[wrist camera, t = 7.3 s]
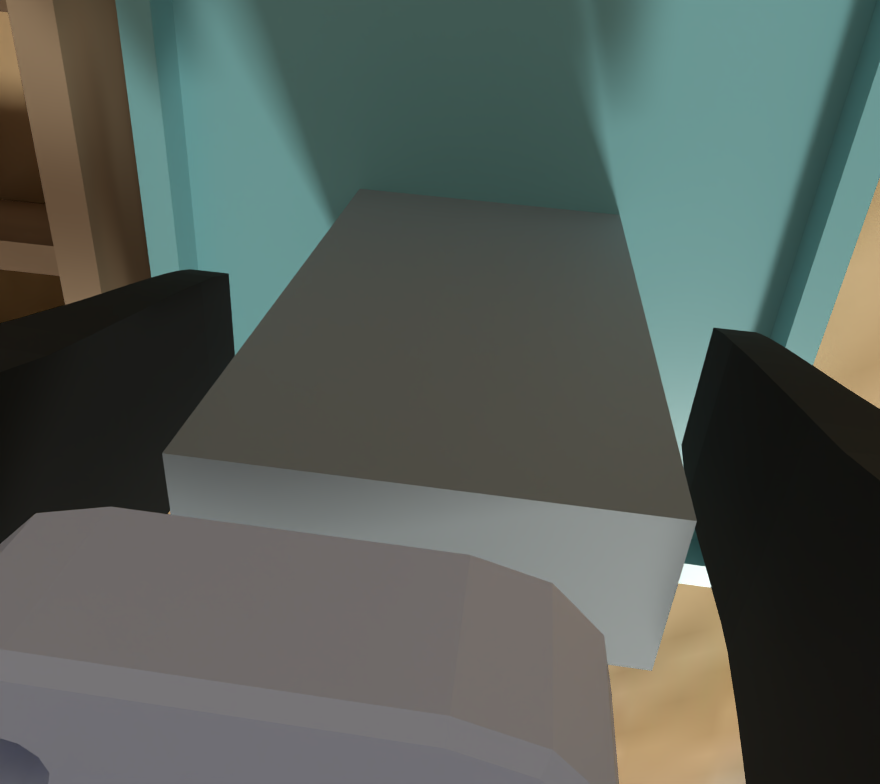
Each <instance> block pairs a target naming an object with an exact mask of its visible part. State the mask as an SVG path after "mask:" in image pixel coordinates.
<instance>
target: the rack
mask: <svg viewBox="0 0 880 784" xmlns="http://www.w3.org/2000/svg"><path fill="white" fill-rule="evenodd" d="M0 11H2V12H8V14H9V19H10V24H11V29H12V35H13V40H14V45H15V50H16V55H17V60H18V65H19V71H20V76H21V81H22V86H23V91H24V96H25V101H26V106H27V112H28V117H29V122H30V127H31V132H32V137H33V142H34V148H35V153H36V158H37V163H38V168H39V173H40V178H41V184H42V189H43V194H44V199H45V204H39V203H30V202H20V201H11V200H2V199H0V269H1V270H10V271H19V272H28V273H37V274H46V275H54V276H60V281H61V286H62V291H63V297H64V302H65V305H66V304H70V303H73V302H77V301H80V300H83V299H86V298H89V297H92V296H95V295H98V294H101V293H104V292H107V291H111V290H114V289H117V288H120V287H123V286H126V285H129V284H132V283H135V282H138V281H141V280H145V279H148V278H151V271H150V263H149V255H148V248H147V240H146V232H145V225H144V217H143V209H142V202H141V194H140V186H139V179H138V171H137V163H136V156H135V148H134V140H133V133H132V125H131V117H130V110H129V102H128V94H127V87H126V79H125V71H124V64H123V56H122V48H121V41H120V33H119V25H118V18H117V10H116V2H115V0H0Z"/></svg>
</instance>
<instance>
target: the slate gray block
mask: <svg viewBox="0 0 880 784" xmlns="http://www.w3.org/2000/svg"><path fill="white" fill-rule="evenodd" d="M162 456H163V463H164V470H165V477H166V484H167V491H168V498H169V505H170V512H171V515H177V516H184V517H192V518H199V519H207V520H214V521H222V522H229V523H237V524H244V525H252V526H259V527H266V528H274V529H281V530H289V531H296V532H304V533H311V534H319V535H326V536H334V537H341V538H348V539H356V540H363V541H371V542H378V543H386V544H393V545H401V546H408V547H416V548H423V549H431V550H438V551H445V552H453V553H460V554H468V555H472V556H475V557H478V558H481V559H484V560H487V561H490V562H492V563H495V564H498V565H501V566H504V567H507V568H510V569H513V570H516V571H519V572H522V573H524V574H527V575H530V576H533V577H536V578H539V579H542V580H545V581H548V582H551V583H553V584H554V585H555V586H556V587H557V588H558V589H559V590H560V591H561V592H562V593H563V594H564V595H565V596H566V597H567V598H568V599H569V600H570V601H571V602H572V603H573V604H574V605H575V606H576V607H577V608H578V609H579V610H580V611H581V612H582V613H583V614H584V615H585V617H586V618H587V619H588V620H589V621H590V622H591V623H592V624H593V625H594V626H595V627H596V628H597V629H598V630H599V631H600V632H601V633H602V634H603V635H604V639H605V647H606V654H607V662H608V665H615V666H622V667H629V668H636V669H643V670H651V671H652V668H653V665H654V662H655V658H656V655H657V652H658V649H659V645H660V642H661V639H662V635H663V632H664V629H665V625H666V622H667V619H668V615H669V612H670V609H671V605H672V602H673V599H674V596H675V592H676V589H677V586H678V582H679V579H680V576H681V572H682V569H683V566H684V562H685V559H686V556H687V553H688V549H689V546H690V543H691V539H692V536H693V533H694V529H695V526H696V523H697V519H696V515H695V511H694V507H693V503H692V499H691V495H690V492H689V488H688V484H687V480H686V476H685V472H684V468H683V464H682V460H681V456H680V452H679V448H678V444H677V440H676V436H675V432H674V428H673V424H672V420H671V416H670V412H669V408H668V404H667V400H666V396H665V392H664V388H663V384H662V380H661V376H660V373H659V369H658V365H657V361H656V357H655V353H654V349H653V345H652V341H651V337H650V333H649V329H648V325H647V321H646V317H645V313H644V309H643V305H642V301H641V297H640V293H639V289H638V285H637V281H636V277H635V273H634V269H633V265H632V261H631V257H630V253H629V250H628V246H627V242H626V238H625V234H624V230H623V226H622V222H621V218H620V215H616V214H606V213H596V212H586V211H576V210H566V209H556V208H546V207H536V206H527V205H517V204H507V203H497V202H487V201H477V200H467V199H457V198H447V197H437V196H427V195H417V194H407V193H397V192H387V191H378V190H368V189H359V190H358V191H357V193H356V194H355V195H354V197H353V198H352V200H351V201H350V202H349V204H348V205H347V206H346V208H345V209H344V210H343V212H342V213H341V214H340V216H339V217H338V218H337V220H336V221H335V222H334V224H333V225H332V226H331V228H330V229H329V230H328V232H327V233H326V234H325V236H324V237H323V238H322V240H321V241H320V242H319V244H318V245H317V246H316V248H315V249H314V250H313V252H312V253H311V254H310V256H309V257H308V258H307V260H306V261H305V262H304V264H303V265H302V267H301V268H300V269H299V271H298V272H297V273H296V275H295V276H294V277H293V279H292V280H291V281H290V283H289V284H288V285H287V287H286V288H285V289H284V291H283V292H282V293H281V295H280V296H279V297H278V299H277V300H276V301H275V303H274V304H273V305H272V307H271V308H270V309H269V311H268V312H267V313H266V315H265V316H264V317H263V319H262V320H261V321H260V323H259V324H258V325H257V327H256V328H255V329H254V331H253V332H252V334H251V335H250V336H249V338H248V339H247V340H246V342H245V343H244V344H243V346H242V347H241V348H240V350H239V351H238V352H237V354H236V355H235V356H234V358H233V359H232V360H231V362H230V363H229V364H228V366H227V367H226V368H225V370H224V371H223V372H222V374H221V375H220V376H219V378H218V379H217V380H216V382H215V383H214V384H213V386H212V387H211V388H210V390H209V391H208V392H207V394H206V395H205V396H204V398H203V399H202V401H201V402H200V403H199V405H198V406H197V407H196V409H195V410H194V411H193V413H192V414H191V415H190V417H189V418H188V419H187V421H186V422H185V423H184V425H183V426H182V427H181V429H180V430H179V431H178V433H177V434H176V435H175V437H174V438H173V439H172V441H171V442H170V443H169V445H168V446H167V447H166V449H165V450H164V451H163V453H162Z"/></svg>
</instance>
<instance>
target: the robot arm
mask: <svg viewBox="0 0 880 784" xmlns="http://www.w3.org/2000/svg"><path fill="white" fill-rule="evenodd" d="M234 356H235V349H234V336H233V323H232V310H231V297H230V283H229V273H220V272H211V271H202V270H193V269H187V270H179V271H174V272H170V273H166V274H162V275H158V276H155V277H151V278H148V279H145V280H141V281H138V282H135V283H132V284H129V285H126V286H123V287H120V288H117V289H114V290H111V291H107V292H104V293H101V294H98V295H95V296H92V297H89V298H86V299H83V300H80V301H77V302H73V303H70V304H66V305H63V306H60V307H56V308H53V309H49V310H46V311H42V312H39V313H36V314H32V315H29V316H25V317H22V318H18V319H15V320H11V321H7V322H3V323H0V784H619V779H618V767H617V754H616V742H615V730H614V718H613V706H612V694H611V685H610V678H609V670H608V662H607V654H606V647H605V639H604V635H603V634H602V633H601V632H600V631H599V630H598V629H597V628H596V627H595V626H594V625H593V624H592V623H591V622H590V621H589V620H588V619H587V618H586V617H585V615H584V614H583V613H582V612H581V611H580V610H579V609H578V608H577V607H576V606H575V605H574V604H573V603H572V602H571V601H570V600H569V599H568V598H567V597H566V596H565V595H564V594H563V593H562V592H561V591H560V590H559V589H558V588H557V587H556V586H555V585H554V584H553V583H551V582H548V581H545V580H542V579H539V578H536V577H533V576H530V575H527V574H524V573H522V572H519V571H516V570H513V569H510V568H507V567H504V566H501V565H498V564H495V563H492V562H490V561H487V560H484V559H481V558H478V557H475V556H472V555H468V554H460V553H453V552H445V551H438V550H431V549H423V548H416V547H408V546H401V545H393V544H386V543H378V542H371V541H363V540H356V539H348V538H341V537H334V536H326V535H319V534H311V533H304V532H296V531H289V530H281V529H274V528H266V527H259V526H252V525H244V524H237V523H229V522H222V521H214V520H207V519H199V518H192V517H184V516H177V515H169V514H168V512H169V511H170V505H169V498H168V491H167V484H166V477H165V470H164V463H163V456H162V453H163V451H164V450H165V449H166V447H167V446H168V445H169V443H170V442H171V441H172V439H173V438H174V437H175V435H176V434H177V433H178V431H179V430H180V429H181V427H182V426H183V425H184V423H185V422H186V421H187V419H188V418H189V417H190V415H191V414H192V413H193V411H194V410H195V409H196V407H197V406H198V405H199V403H200V402H201V401H202V399H203V398H204V396H205V395H206V394H207V392H208V391H209V390H210V388H211V387H212V386H213V384H214V383H215V382H216V380H217V379H218V378H219V376H220V375H221V374H222V372H223V371H224V370H225V368H226V367H227V366H228V364H229V363H230V362H231V360H232V359H233V358H234ZM681 446H682V457H683V467H684V472H685V476H686V480H687V484H688V488H689V492H690V495H691V499H692V503H693V507H694V511H695V515H696V519H697V523H696V526H695V531H696V534H697V538H698V542H699V545H700V549H701V552H702V556H703V560H704V563H705V567H706V570H707V574H708V577H709V581H710V584H711V588H712V592H713V595H714V599H715V602H716V606H717V609H718V613H719V617H720V620H721V624H722V629H723V633H724V637H725V642H726V646H727V651H728V657H729V664H730V670H731V677H732V683H733V690H734V696H735V703H736V710H737V716H738V724H739V732H740V740H741V748H742V756H743V763H744V771H745V779H746V784H880V409H879V408H877V407H876V406H874V405H872V404H871V403H869V402H868V401H866V400H864V399H863V398H861V397H860V396H858V395H856V394H855V393H853V392H852V391H850V390H849V389H847V388H846V387H844V386H843V385H841V384H840V383H838V382H837V381H835V380H834V379H832V378H830V377H829V376H827V375H826V374H824V373H823V372H822V371H820V370H819V369H817V368H816V367H814V366H813V365H811V364H810V363H808V362H807V361H805V360H804V359H802V358H801V357H799V356H798V355H796V354H795V353H793V352H791V351H790V350H788V349H787V348H785V347H784V346H782V345H780V344H779V343H777V342H775V341H774V340H772V339H770V338H768V337H766V336H764V335H762V334H760V333H757V332H749V331H740V330H731V329H722V328H713V331H712V335H711V338H710V342H709V346H708V349H707V353H706V357H705V360H704V364H703V368H702V371H701V375H700V379H699V382H698V386H697V390H696V393H695V397H694V400H693V404H692V408H691V411H690V415H689V419H688V422H687V426H686V430H685V433H684V437H683V441H682V444H681Z"/></svg>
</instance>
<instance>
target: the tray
mask: <svg viewBox="0 0 880 784" xmlns="http://www.w3.org/2000/svg"><path fill="white" fill-rule="evenodd" d="M115 2H116V10H117V18H118V25H119V33H120V41H121V48H122V56H123V64H124V71H125V79H126V87H127V94H128V102H129V110H130V117H131V125H132V133H133V140H134V148H135V156H136V163H137V171H138V179H139V186H140V194H141V202H142V209H143V217H144V225H145V232H146V240H147V248H148V255H149V263H150V271H151V277H155V276H158V275H162V274H166V273H170V272H174V271H179V270H187V269H193V270H202V271H211V272H220V273H229V283H230V297H231V310H232V323H233V336H234V349H235V355H236V354H237V352H238V351H239V350H240V348H241V347H242V346H243V344H244V343H245V342H246V340H247V339H248V338H249V336H250V335H251V334H252V332H253V331H254V329H255V328H256V327H257V325H258V324H259V323H260V321H261V320H262V319H263V317H264V316H265V315H266V313H267V312H268V311H269V309H270V308H271V307H272V305H273V304H274V303H275V301H276V300H277V299H278V297H279V296H280V295H281V293H282V292H283V291H284V289H285V288H286V287H287V285H288V284H289V283H290V281H291V280H292V279H293V277H294V276H295V275H296V273H297V272H298V271H299V269H300V268H301V267H302V265H303V264H304V262H305V261H306V260H307V258H308V257H309V256H310V254H311V253H312V252H313V250H314V249H315V248H316V246H317V245H318V244H319V242H320V241H321V240H322V238H323V237H324V236H325V234H326V233H327V232H328V230H329V229H330V228H331V226H332V225H333V224H334V222H335V221H336V220H337V218H338V217H339V216H340V214H341V213H342V212H343V210H344V209H345V208H346V206H347V205H348V204H349V202H350V201H351V200H352V198H353V197H354V195H355V194H356V193H357V191H358V190H359V189H368V190H378V191H387V192H397V193H407V194H417V195H427V196H437V197H447V198H457V199H467V200H477V201H487V202H497V203H507V204H517V205H527V206H536V207H546V208H556V209H566V210H576V211H586V212H596V213H606V214H616V215H620V218H621V222H622V226H623V230H624V234H625V238H626V242H627V246H628V250H629V253H630V257H631V261H632V265H633V269H634V273H635V277H636V281H637V285H638V289H639V293H640V297H641V301H642V305H643V309H644V313H645V317H646V321H647V325H648V329H649V333H650V337H651V341H652V345H653V349H654V353H655V357H656V361H657V365H658V369H659V373H660V376H661V380H662V384H663V388H664V392H665V396H666V400H667V404H668V408H669V412H670V416H671V420H672V424H673V428H674V432H675V436H676V440H677V444H678V448H679V452H680V456H681V460H682V464H683V457H682V446H681V444H682V441H683V437H684V433H685V430H686V426H687V422H688V419H689V415H690V411H691V408H692V404H693V400H694V397H695V393H696V390H697V386H698V382H699V379H700V375H701V371H702V368H703V364H704V360H705V357H706V353H707V349H708V346H709V342H710V338H711V335H712V331H713V328H722V329H731V330H740V331H749V332H757V333H760V334H762V335H764V336H766V337H768V338H770V339H772V340H774V341H775V342H777V343H779V344H780V345H782V346H784V347H785V348H787V349H788V350H790V351H791V352H793V353H795V354H796V355H798V356H799V357H801V358H802V359H804V360H805V361H807V362H808V363H810V364H811V365H813V363H814V360H815V358H816V355H817V352H818V349H819V346H820V344H821V341H822V338H823V335H824V332H825V329H826V327H827V324H828V321H829V318H830V315H831V313H832V310H833V307H834V304H835V301H836V299H837V296H838V293H839V290H840V287H841V284H842V282H843V279H844V276H845V273H846V270H847V268H848V265H849V262H850V259H851V256H852V254H853V251H854V248H855V245H856V242H857V239H858V237H859V234H860V231H861V228H862V225H863V223H864V220H865V217H866V214H867V211H868V209H869V206H870V203H871V200H872V197H873V195H874V192H875V189H876V186H877V183H878V180H879V178H880V0H115ZM683 468H684V467H683ZM678 583H681V584H689V585H696V586H704V587H711V584H710V581H709V577H708V574H707V570H706V567H705V563H704V560H703V556H702V552H701V549H700V545H699V542H698V538H697V534H696V531H695V529H694V533H693V536H692V539H691V543H690V546H689V549H688V553H687V556H686V559H685V562H684V566H683V569H682V572H681V576H680V579H679V582H678Z"/></svg>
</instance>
